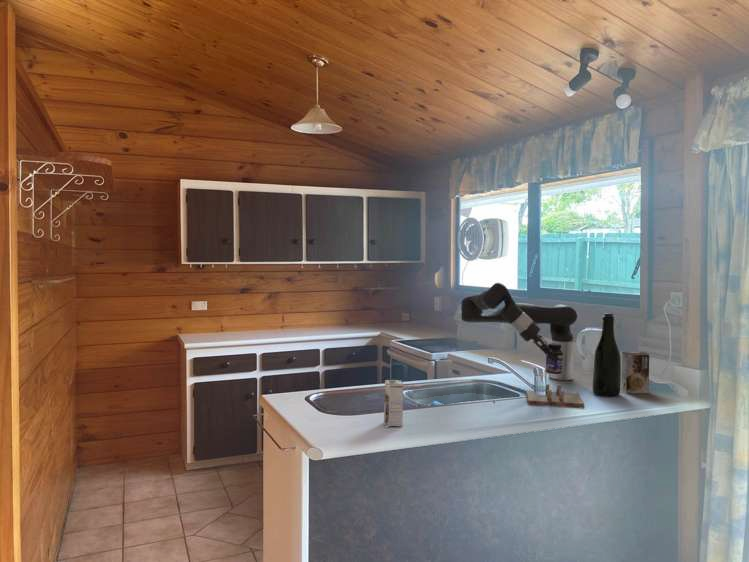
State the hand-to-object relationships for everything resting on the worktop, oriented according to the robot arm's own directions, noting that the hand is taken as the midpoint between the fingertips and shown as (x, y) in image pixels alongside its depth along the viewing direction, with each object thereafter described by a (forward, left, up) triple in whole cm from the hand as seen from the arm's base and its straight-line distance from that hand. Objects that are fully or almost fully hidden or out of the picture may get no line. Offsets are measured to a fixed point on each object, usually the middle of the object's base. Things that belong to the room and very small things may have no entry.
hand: (555, 358), depth 227 cm
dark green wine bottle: (+9, +25, -17) cm, 31 cm away
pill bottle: (0, 0, -6) cm, 6 cm away
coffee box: (+15, +38, -17) cm, 44 cm away
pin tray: (0, 0, -16) cm, 16 cm away
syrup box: (-20, -68, -17) cm, 73 cm away
